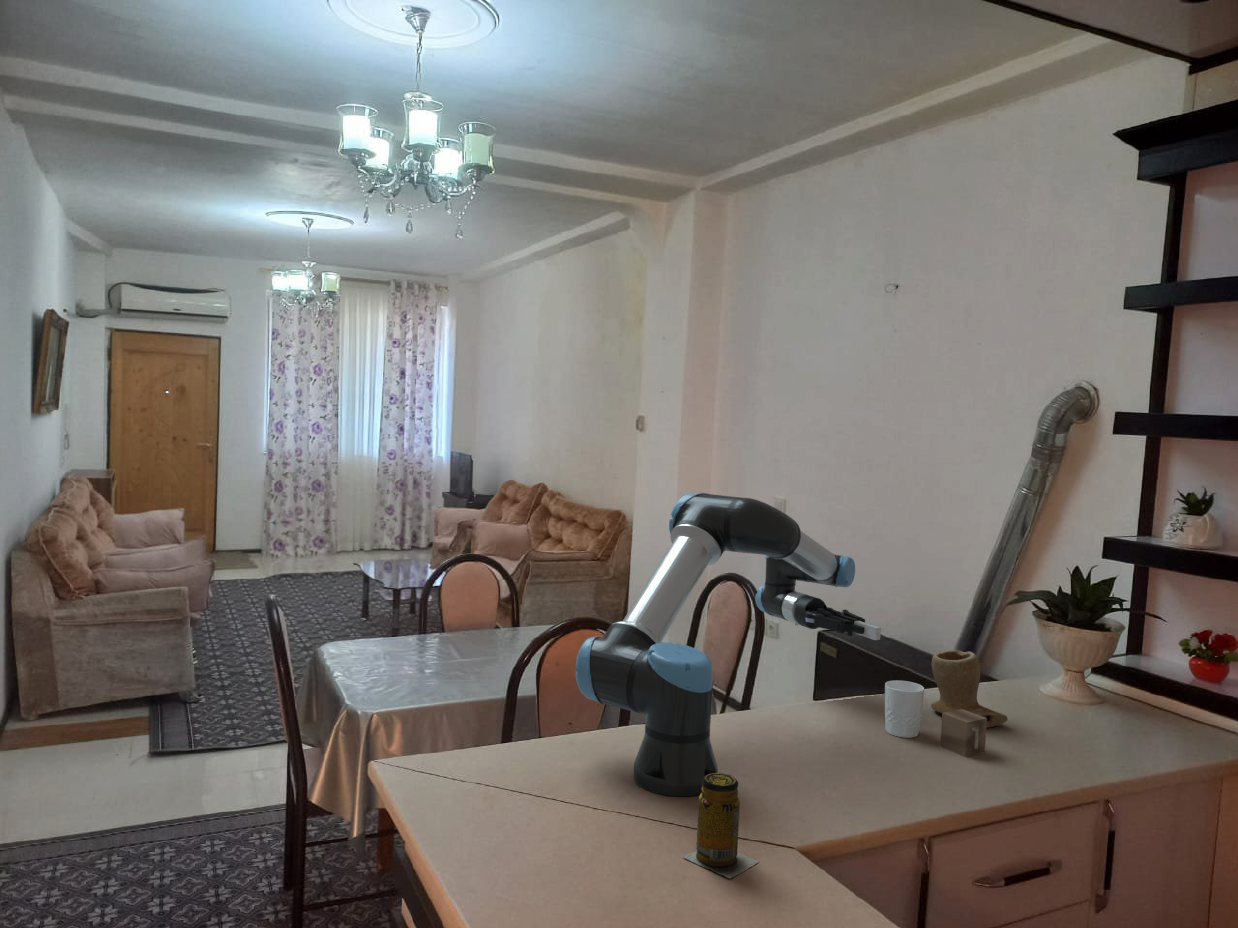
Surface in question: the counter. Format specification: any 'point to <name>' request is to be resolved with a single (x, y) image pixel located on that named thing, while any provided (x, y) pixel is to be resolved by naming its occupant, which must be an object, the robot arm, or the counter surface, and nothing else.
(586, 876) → the counter surface
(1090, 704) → the counter surface
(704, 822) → the condiment
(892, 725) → the white cup
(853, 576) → the robot arm
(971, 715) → the marked walnut block
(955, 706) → the stone cup
